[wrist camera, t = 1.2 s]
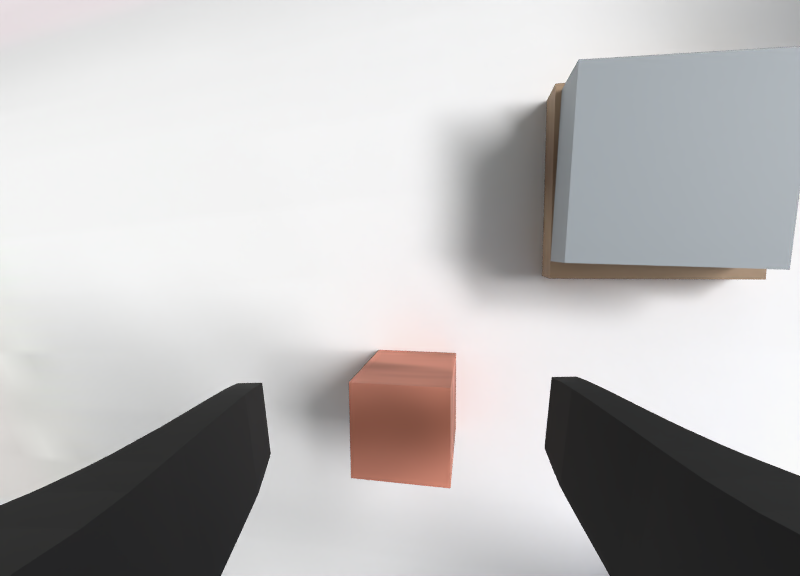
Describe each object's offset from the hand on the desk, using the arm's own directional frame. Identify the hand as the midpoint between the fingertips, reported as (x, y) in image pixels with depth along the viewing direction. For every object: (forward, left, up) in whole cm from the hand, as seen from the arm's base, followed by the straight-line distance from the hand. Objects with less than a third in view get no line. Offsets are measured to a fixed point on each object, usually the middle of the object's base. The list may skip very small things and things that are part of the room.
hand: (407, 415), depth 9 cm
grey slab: (+7, -9, -8) cm, 14 cm away
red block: (-3, +1, -10) cm, 11 cm away
